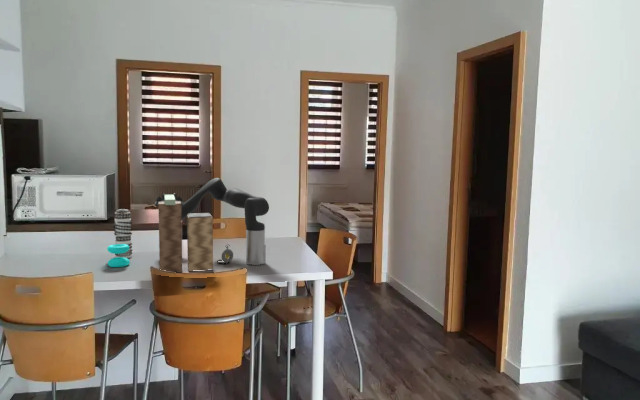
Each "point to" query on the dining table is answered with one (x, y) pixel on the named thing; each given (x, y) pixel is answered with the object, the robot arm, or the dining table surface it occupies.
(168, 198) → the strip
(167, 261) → the walnut stand
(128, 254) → the decorative candle
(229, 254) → the pocket watch
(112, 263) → the donuts
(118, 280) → the dining table surface
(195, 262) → the oak block
